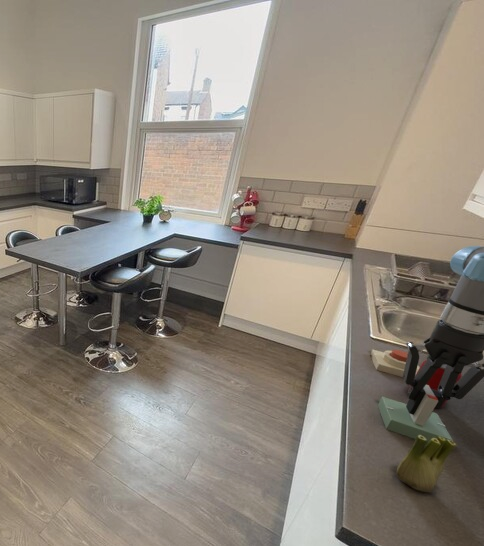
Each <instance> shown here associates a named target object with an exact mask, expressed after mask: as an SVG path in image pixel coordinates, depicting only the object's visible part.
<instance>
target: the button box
mask: <svg viewBox="0 0 484 546" xmlns="http://www.w3.org/2000/svg"><path fill="white" fill-rule="evenodd" d="M391 352H392V350H387V349H386V350H384V351H381V350H376V349H372V350H371V352H370V354H369V356H370V358H371V360H372V364H373V365H374V368H375V370H376V371H379V372H383V373H387V374H389V375H394V376H398V377H401V378H403V373H404V369H405V364H406V362H403V361H399V360H397V359H394V358H393V357H391V356H390V355H391ZM419 368H420V366H419V365H418V366H417V370H416V374H417V372H418V370H419ZM416 374H415V376H416Z"/></svg>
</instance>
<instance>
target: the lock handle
mask: <svg viewBox="0 0 484 546" xmlns="http://www.w3.org/2000/svg"><path fill="white" fill-rule="evenodd" d="M423 389H424V390H425V392H426V394H425V396H424V398H423V399H422V401H421V403H420V405H419V407H418V408H417V410H416V412H415V414H414V415H413V414H410V415H411V418H412V420H413V422H414V423H415V424H418V425H421V426H424V425H425V423H426V421H427V420H428V418H429V416H430V415H431V413H432V411H433V412H434V410H435V409H436V407H435V406H436V404H437V403H438V399H437V397H436V396H435V395H434V393H433V392H432V390H431V388H430V387H429V385H425V387H424V388H423ZM433 409H434V410H433Z"/></svg>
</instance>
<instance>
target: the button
mask: <svg viewBox="0 0 484 546" xmlns="http://www.w3.org/2000/svg"><path fill="white" fill-rule="evenodd" d="M391 351H392V352H391V355H390V356H391V357H393V358H394V359H397V360H399V361H403V362H406V360H407V356H408V352H406V351H403V350H399V349H392V350H391Z"/></svg>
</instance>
